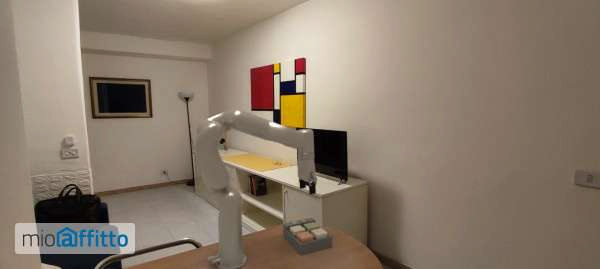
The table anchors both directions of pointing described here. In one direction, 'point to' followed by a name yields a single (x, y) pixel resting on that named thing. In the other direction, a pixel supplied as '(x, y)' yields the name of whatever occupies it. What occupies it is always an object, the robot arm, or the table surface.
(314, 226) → the key sage
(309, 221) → the keypad
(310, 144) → the robot arm
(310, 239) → the key terracotta
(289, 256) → the table surface
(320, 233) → the key cream right
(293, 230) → the key cream left
